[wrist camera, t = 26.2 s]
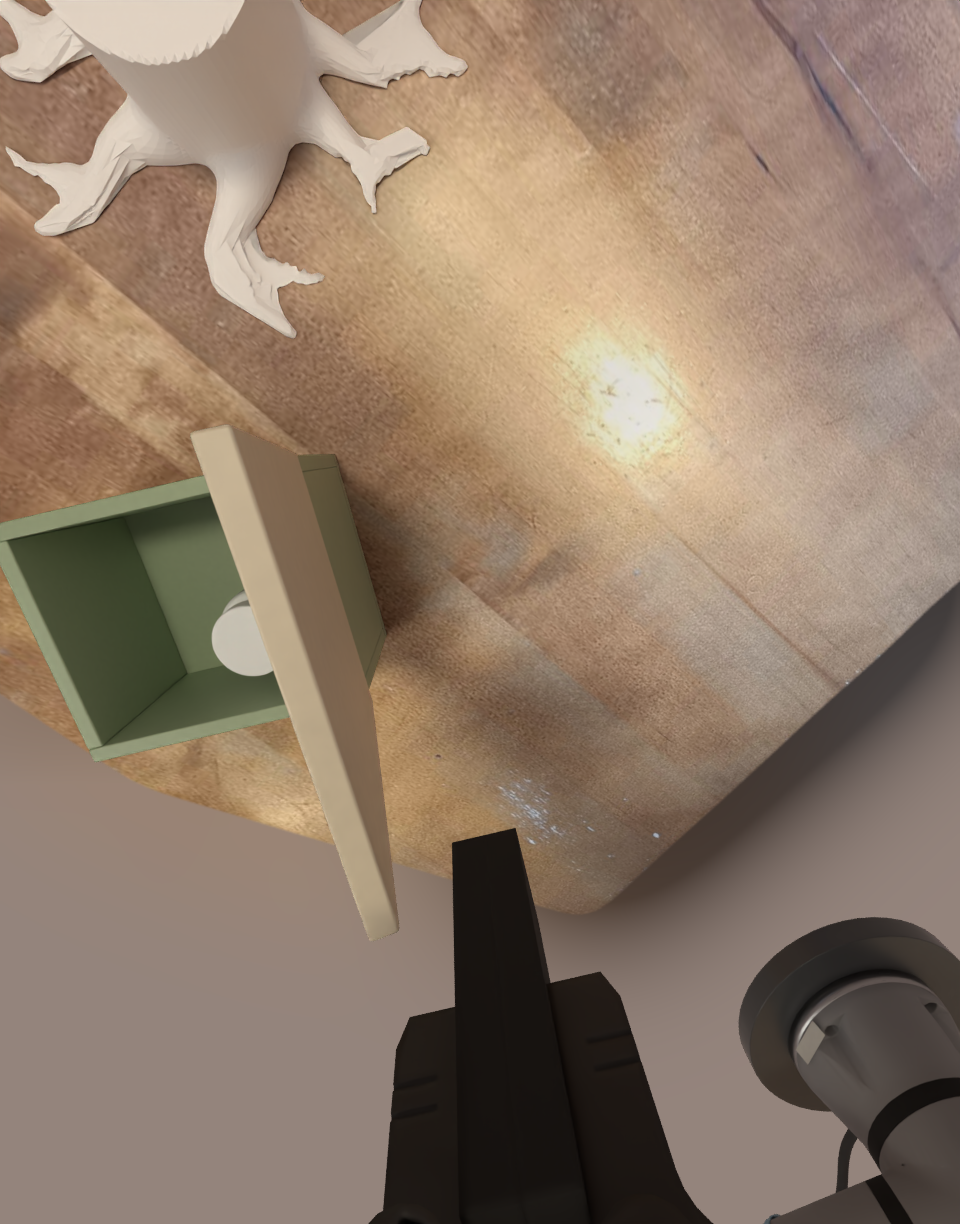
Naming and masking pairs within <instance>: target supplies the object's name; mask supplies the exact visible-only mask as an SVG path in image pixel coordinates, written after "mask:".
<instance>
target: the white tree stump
mask: <svg viewBox="0 0 960 1224" xmlns="http://www.w3.org/2000/svg"><path fill="white" fill-rule="evenodd" d="M45 1H46V2H47V3H48V4H49V6H50V7H51V8H52V9H53V10H52V11H51V12H50V13H49V14H48V15H46V16H41V15H38V14H36V13H33V12H31V11H30V10H28V9H27V8H25V7H24V6H22V5H21V4H19V3H18V2H16V1H15V0H0V15H1V16H2V17H3V18H4V19H5V20H6V21H8V23H9V24H10V26H11V28H12V29H13V31H14V34H15V36H16V39H17V41H18V46H19V47H18V51H16V52H14V53H12V54H8V55H5V56H3V57H1V59H0V66H1V69H2V70H3V71H4V72H5V73H6V74H7V75H9V76H10V77H11V78H14V79H16V80H22V81H31V82H42V81H43V80H45V79H46V78H48V77H49V76H51V75H52V74H53V73H54V72H55V71H57V70H58V69H60V68H61V67H63V66H65V65H66V64H67V63H70V62H73V61H76V60H78V59H81V58H84V57H86V56H89V55H92V54H93V56H94V57H95V58H96V59H97V60H98V61H99V62H100V63H101V65H102V66H103V67H104V68H105V69H106V70H107V71H108V72H109V73H110V75H111V76H112V77H113V78H114V79H115V80H116V81H117V82H118V84H119V85H120V86H121V87H122V88H123V89H124V90H125V91H126V93H127V94H128V96H127V99H126V100H125V102H124V103H123V104H122V106H121V107H120V108H119V109H118V111H117V112H116V113H115V114H114V115H113V116H112V117H111V118H110V120H109V121H108V122H107V124H106V126H105V127H104V129H103V130H102V132H101V133H100V135H99V137H98V138H97V141H96V144H95V148H94V151H93V155H92V157H91V159H90V161H89V162H87V163H85V164H83V165H77V164H74V163H66V162H63V163H60V164H58V163H52V164H46V163H39V164H38V163H33V162H28V161H26V160H25V159H24V158H23V157H22V156H21V155H19V154H18V153H16V152H15V151H13V150H11V149H10V148H8V147H6V152H7V153H8V154H9V155H10V156H11V159H12V161H13V163H14V166H18V167H21V168H22V169H23V170H25V171H26V172H28V173H30V174H32V175H33V176H36V175H39V176H40V177H41V178H42V179H43V180H44V182H45V183H47V184H49V185H51V186H52V187H53V188H54V189H55V190H56V191H57V193H58V195H59V197H60V203H59V204H57V205H55V206H54V207H53V208H52V209H51V210H50V211H49V212H48V213H47V214H46V215H45V216H44V217H43V218H42V219H40V220H38V221H36V223H35V225H34V228H35V231H36V232H38V233H40V234H41V235H43V236H55V235H58V234H61V233H64V232H67V231H70V230H73V229H76V228H79V227H82V226H85V225H88V224H91V223H94V222H95V220H96V219H97V218H98V217H99V216H100V214H101V213H102V211H103V210H104V208H105V207H106V206H107V205H109V204H110V202H111V201H112V200H113V198H114V197H115V196H116V195H117V193H118V192H119V191H120V189H121V188H122V187H123V185H124V184H125V183H126V181H127V180H128V179H129V178H130V176H131V175H132V174H133V173H135V172H136V171H138V170H140V169H142V168H143V167H145V166H147V165H155V166H176V165H185V164H193V163H197V164H202V165H205V166H207V167H208V168H209V169H211V170H212V172H213V173H214V175H215V177H216V181H217V192H216V201H215V205H214V209H213V213H212V217H211V220H210V224H209V228H208V232H207V237H206V241H205V245H204V254H205V260H206V262H207V265H208V269H209V274H210V278H211V282H212V284H213V286H214V287H215V289H216V290H217V292H218V293H219V294H220V295H221V296H222V297H224V298H226V299H227V300H229V301H230V302H232V303H234V304H235V305H237V306H238V307H240V308H242V309H243V310H245V311H246V312H248V313H250V314H251V315H253V316H255V317H256V318H258V319H259V320H261V321H263V322H264V323H266V324H267V325H269V326H271V327H272V328H274V329H275V330H277V331H279V332H280V333H282V334H283V335H285V336H287V337H290V338H295V337H296V334H297V332H296V330H295V329H294V328H293V327H292V325H291V324H290V323H289V321H288V320H287V319H286V317H285V316H284V313H283V311H282V309H281V307H280V304H279V301H278V292H277V289H278V288H279V287H283V286H285V285H288V284H289V283H290V282H292V281H294V282H296V283H302V284H305V285H308V284H312V283H318V281H322V280H323V278H324V277H325V276H324V275H322V274H321V273H319V272H318V273H315V274H310V273H308V272H307V271H306V270H305V268H304V269H303V270H302V271H300V272H298V269H297V267H296V266H290V265H289V264H288V262H286V263H284V264H282V263H280V262H278V261H277V260H276V259H274V258H269V257H267V256H266V255H265V254H264V253H263V251H262V250H261V248H260V244H259V240H258V236H257V232H256V229H255V227H256V225H257V224H258V223H259V221H260V219H261V218H262V216H263V215H264V213H265V212H266V210H267V208H268V207H269V205H270V204H271V202H272V199H273V197H274V194H275V191H276V188H277V186H278V183H279V181H280V179H281V176H282V174H283V171H284V168H285V164H286V161H287V157H288V153H289V151H290V150H291V148H292V147H293V146H294V145H295V144H298V143H302V142H305V143H313V144H316V145H318V146H319V147H321V148H322V149H324V150H325V151H327V152H328V153H330V154H331V155H333V156H334V157H336V158H337V157H343V159H344V160H345V161H348V162H349V163H350V165H351V169H352V172H353V173H354V174H355V175H356V176H357V178H358V180H359V181H360V183H361V185H362V188H363V194H364V197H365V199H366V200H367V202H368V203H369V204H370V205H371V208H372V213H376V199H375V195H374V194H375V191H376V184H377V183H379V182H380V181H381V179H382V178H383V176H385V175H390V174H391V172H392V171H393V169H394V168H398V167H399V166H401V165H402V164H404V163H406V162H407V161H409V160H411V159H412V158H414V157H416V156H417V155H419V154H423V155H427V153H428V151H429V149H430V147H429V146H428V145H427V141H426V140H425V139H424V138H423V137H421V136H420V135H418V134H417V133H415V132H414V131H413V130H411V129H410V128H408V127H405V128H403V129H401V130H399V131H397V132H394V133H392V134H390V135H388V136H386V137H384V138H383V139H381V140H375V139H370V138H366V137H362V136H359V135H358V134H357V133H356V131H355V130H354V129H353V128H352V127H351V126H350V124H349V123H348V122H347V120H346V119H345V117H344V116H343V115H342V113H341V112H340V110H339V109H338V107H337V106H336V105H335V103H334V102H333V101H332V99H331V98H330V97H329V95H328V94H327V93H326V91H325V90H324V88H323V87H322V86H321V84H320V81H319V78H320V76H321V75H323V74H330V75H336V76H340V77H343V78H346V79H350V80H353V81H357V82H361V83H365V84H370V85H374V86H378V87H380V86H381V87H384V88H386V89H387V85H388V81H389V80H390V79H396V80H399V79H400V77H401V76H402V75H403V74H408V75H411V74H412V73H414V72H415V71H417V70H419V69H421V70H424V71H425V72H426V73H427V75H428V76H429V77H433V76H439V75H441V76H443V77H445V78H446V77H447V76H448V75H449V74H454V75H456V76H460V75H461V74H463V73H464V72H465V70H466V69H467V68H468V66H467V64H466V62H465V61H464V60H462V59H460V58H458V57H455V56H451V55H449V54H447V53H445V52H444V51H443V50H442V49H441V48H440V47H439V46H438V45H437V43H436V42H435V41H434V39H433V38H432V36H431V34H430V33H429V32H428V31H427V30H426V29H425V28H424V27H423V25H422V23H421V19H420V16H419V7H420V5H421V2H422V0H401V1H399V2H397V3H396V4H394V5H392V6H391V7H389V8H387V9H385V10H384V11H382V12H380V13H379V14H377V15H375V16H374V17H372V18H370V19H369V20H367V21H365V22H363V23H362V24H360V25H358V26H357V27H355V28H353V29H352V30H350V31H348V32H346V33H345V34H343V35H340V34H339V33H338V32H337V31H335V30H334V29H333V28H331V27H330V26H328V25H327V24H325V23H324V22H323V21H321V20H319V19H318V18H316V17H315V16H313V15H312V14H310V13H309V12H308V11H307V10H306V9H305V8H304V6H303V5H302V3H301V1H300V0H45Z"/></svg>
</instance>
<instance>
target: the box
mask: <svg viewBox="0 0 960 1224" xmlns="http://www.w3.org/2000/svg"><path fill="white" fill-rule="evenodd" d="M297 456H298V459H299V463H300V466H301V469H302V473H303V476H304V479H305V482H306V486H307V489H308V492H309V495H310V499H311V502H312V505H313V508H314V512H315V515H316V518H317V521H318V525H319V528H320V531H321V535H322V538H323V541H324V544H325V548H326V551H327V554H328V557H329V561H330V564H331V567H332V570H333V574H334V577H335V580H336V584H337V587H338V590H339V593H340V597H341V600H342V603H343V606H344V610H345V613H346V616H347V619H348V623H349V626H350V629H351V632H352V636H353V639H354V642H355V646H356V649H357V652H358V655H359V659H360V662H361V665H362V668H363V672H364V675H365V678H366V681H367V685H368V688H370V685H371V682H372V679H373V676H374V672H375V669H376V666H377V663H378V660H379V657H380V654H381V651H382V648H383V645H384V641H385V638H386V635H387V634H386V630H385V627H384V623H383V620H382V616H381V613H380V609H379V606H378V602H377V599H376V595H375V592H374V588H373V585H372V581H371V578H370V575H369V571H368V568H367V564H366V561H365V557H364V554H363V550H362V547H361V543H360V540H359V536H358V533H357V529H356V526H355V522H354V519H353V515H352V512H351V508H350V505H349V501H348V498H347V495H346V491H345V488H344V484H343V481H342V477H341V474H340V470H339V467H338V463H337V460H336V456H335V454H317V455H297ZM0 566H1V568H2V570H3V572H4V574H5V576H6V578H7V580H8V582H9V585H10V587H11V589H12V591H13V593H14V595H15V597H16V599H17V601H18V603H19V605H20V607H21V610H22V612H23V614H24V616H25V618H26V620H27V622H28V624H29V626H30V628H31V630H32V633H33V635H34V637H35V639H36V641H37V643H38V645H39V647H40V649H41V651H42V653H43V656H44V658H45V660H46V662H47V664H48V666H49V668H50V670H51V672H52V674H53V676H54V679H55V681H56V683H57V685H58V687H59V689H60V691H61V693H62V695H63V697H64V699H65V701H66V704H67V706H68V708H69V710H70V712H71V714H72V716H73V718H74V720H75V722H76V724H77V727H78V729H79V731H80V733H81V735H82V737H83V739H84V741H85V743H86V745H87V747H88V749H90V750H89V751H90V754H91V756H92V758H93V760H94V762H99V761H103V760H107V759H112V758H116V757H120V756H125V755H129V754H133V753H138V752H142V751H146V750H151V749H155V748H159V747H164V746H168V745H172V744H176V743H181V742H185V741H189V740H194V739H198V738H202V737H207V736H211V735H215V734H220V733H224V732H228V731H232V730H237V729H241V728H245V727H250V726H254V725H258V724H263V723H267V722H271V721H276V720H280V719H284V718H289V717H290V716H289V713H288V711H287V708H286V705H285V702H284V699H283V697H282V694H281V691H280V688H279V685H278V683H277V680H276V677H275V674H274V671H272V672H270V673H268V674H265V675H261V676H246V675H241V674H238V673H236V672H233V671H231V670H230V669H228V668H227V667H226V666H225V665H224V664H223V663H222V662H221V661H220V660H219V659H218V657H217V656H216V654H215V652H214V649H213V646H212V631H213V628H214V625H215V623H216V621H217V620H218V619H219V617H220V616H221V615H222V614H223V611H224V609H225V607H226V605H227V604H228V603H229V601H230V600H231V599H232V598H233V597H234V596H236V595H237V594H238V593H239V592H241V591H242V590H244V587H243V584H242V581H241V579H240V576H239V573H238V570H237V567H236V565H235V562H234V559H233V556H232V553H231V551H230V548H229V545H228V542H227V539H226V536H225V534H224V531H223V528H222V525H221V522H220V520H219V517H218V514H217V511H216V508H215V506H214V503H213V500H212V497H211V494H210V492H209V489H208V486H207V483H206V480H205V477H204V475H203V476H199V477H194V478H190V479H186V480H181V481H177V482H173V483H169V484H164V485H160V486H156V487H152V488H147V489H143V490H139V491H135V492H130V493H126V494H122V495H118V496H113V497H109V498H105V499H100V500H96V501H92V502H88V503H83V504H79V505H75V506H71V507H66V508H62V509H58V510H54V511H49V512H45V513H41V514H37V515H32V516H28V517H24V518H19V519H15V520H11V521H7V522H2V523H0Z"/></svg>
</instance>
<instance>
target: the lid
mask: <svg viewBox="0 0 960 1224" xmlns="http://www.w3.org/2000/svg"><path fill="white" fill-rule="evenodd" d="M190 438H191V441H192V444H193V447H194V449H195V452H196V455H197V458H198V461H199V463H200V466H201V469H202V472H203V475H204V477H205V480H206V483H207V486H208V489H209V492H210V494H211V497H212V500H213V503H214V506H215V508H216V511H217V514H218V517H219V520H220V522H221V525H222V528H223V531H224V534H225V536H226V539H227V542H228V545H229V548H230V551H231V553H232V556H233V559H234V562H235V565H236V567H237V570H238V573H239V576H240V579H241V581H242V584H243V587H244V590H245V593H246V595H247V598H248V601H249V604H250V607H251V610H252V612H253V615H254V618H255V621H256V624H257V626H258V629H259V632H260V635H261V638H262V640H263V643H264V646H265V649H266V652H267V654H268V657H269V660H270V663H271V666H272V669H273V671H274V674H275V677H276V680H277V683H278V685H279V688H280V691H281V694H282V697H283V699H284V702H285V705H286V708H287V711H288V713H289V716H290V719H291V722H292V725H293V728H294V730H295V733H296V736H297V739H298V742H299V744H300V747H301V750H302V753H303V756H304V758H305V761H306V764H307V767H308V770H309V772H310V775H311V778H312V781H313V784H314V787H315V789H316V792H317V795H318V798H319V801H320V803H321V806H322V809H323V812H324V815H325V817H326V820H327V823H328V826H329V829H330V831H331V834H332V837H333V840H334V843H335V846H336V848H337V851H338V854H339V857H340V859H341V862H342V865H343V868H344V871H345V873H346V876H347V879H348V882H349V885H350V887H351V890H352V893H353V896H354V899H355V902H356V905H357V907H358V910H359V913H360V916H361V919H362V921H363V924H364V927H365V930H366V933H367V935H368V938H369V940H370V941H375V940H378V939H381V938H383V937H386V936H388V935H391V934H394V933H397V932H398V931H399V920H398V912H397V903H396V895H395V887H394V878H393V870H392V861H391V853H390V844H389V836H388V828H387V819H386V811H385V802H384V794H383V786H382V777H381V769H380V760H379V752H378V744H377V735H376V727H375V718H374V710H373V702H372V698H371V695H370V691H369V688H368V685H367V681H366V678H365V675H364V672H363V668H362V665H361V662H360V659H359V655H358V652H357V649H356V646H355V642H354V639H353V636H352V632H351V629H350V626H349V623H348V619H347V616H346V613H345V610H344V606H343V603H342V600H341V597H340V593H339V590H338V587H337V584H336V580H335V577H334V574H333V570H332V567H331V564H330V561H329V557H328V554H327V551H326V548H325V544H324V541H323V538H322V535H321V531H320V528H319V525H318V521H317V518H316V515H315V512H314V508H313V505H312V502H311V499H310V495H309V492H308V489H307V486H306V482H305V479H304V476H303V473H302V469H301V466H300V463H299V459H298V456H297V454H296V453H294V452H291V451H289V450H287V449H284V448H282V447H280V446H277V445H275V444H273V443H271V442H268V441H266V440H264V439H261V438H259V437H257V436H254V435H252V434H250V433H247V432H245V431H243V430H241V429H238V428H236V427H234V426H231V425H227V424H226V425H221V426H216V427H212V428H207V429H202V430H198V431H193V432H192V433H191V434H190Z"/></svg>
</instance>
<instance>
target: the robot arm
mask: <svg viewBox="0 0 960 1224" xmlns="http://www.w3.org/2000/svg"><path fill="white" fill-rule="evenodd" d="M452 865H453V915H454V916H453V918H454V970H455V1007H452V1008H448V1009H444V1010H439V1011H435V1012H430V1013H426V1014H422V1015H418V1016H413V1017H410V1018H409V1020H408V1023H407V1025H406V1028H405V1030H404V1032H403V1035H402V1037H401V1040H400V1042H399V1044H398V1046H397V1049H396V1059H395V1070H394V1083H393V1085H394V1091H393V1095H392V1108H391V1117H392V1120H391V1122H390V1132H389V1145H388V1157H387V1169H386V1183H385V1194H384V1206H383V1211H382V1212H380V1213H378V1214H377V1215H376V1216H375V1217H374V1218H373V1219H372V1221H371V1222H370V1223H369V1224H713V1223H712V1222H711V1221H710V1220H709V1219H707V1217H706V1216H705V1215H704V1214H703V1213H702V1212H701V1211H700V1210H699V1209H698V1208H697V1207H696V1206H695V1205H694V1203H693V1201H692V1200H691V1198H690V1197H689V1195H688V1194H687V1192H686V1191H685V1189H684V1187H683V1185H682V1182H681V1181H680V1178H679V1176H678V1173H677V1171H676V1168H675V1165H674V1162H673V1159H672V1156H671V1153H670V1149H669V1147H668V1143H667V1140H666V1137H665V1134H664V1131H663V1128H662V1125H661V1121H660V1119H659V1115H658V1112H657V1109H656V1106H655V1103H654V1100H653V1097H652V1093H651V1090H650V1087H649V1084H648V1081H647V1078H646V1075H645V1072H644V1069H643V1066H642V1062H641V1060H640V1057H639V1053H638V1050H637V1047H636V1044H635V1040H634V1037H633V1034H632V1032H631V1028H630V1025H629V1022H628V1019H627V1016H626V1013H625V1010H624V1006H623V1003H622V1000H621V997H620V995H619V994H618V993H617V992H616V990H615V989H614V988H613V987H612V985H611V984H610V983H609V982H608V980H607V979H606V978H605V977H604V976H603V975H602V973H601V972H597V973H592V974H588V975H583V976H579V977H575V978H570V979H566V980H562V981H557V982H554V983H550V978H549V973H548V968H547V963H546V958H545V953H544V948H543V943H542V938H541V933H540V928H539V923H538V918H537V914H536V910H535V906H534V902H533V898H532V893H531V889H530V885H529V881H528V877H527V873H526V869H525V865H524V861H523V857H522V852H521V848H520V844H519V840H518V836H517V832H516V828H513V829H509V830H505V831H500V832H496V833H492V834H488V835H483V836H479V837H475V838H470V839H466V840H462V841H457V842H453V843H452ZM788 1047H789V1053H790V1056H791V1058H792V1060H793V1062H794V1064H795V1066H796V1068H797V1069H798V1071H799V1073H800V1075H801V1076H802V1078H803V1079H804V1081H805V1082H806V1083H807V1085H808V1086H809V1087H810V1089H811V1090H812V1091H813V1092H814V1093H815V1094H816V1095H817V1096H818V1097H819V1098H820V1099H821V1100H822V1102H823V1103H824V1104H825V1105H826V1106H827V1107H828V1108H829V1109H830V1110H831V1111H832V1112H833V1113H834V1114H835V1115H836V1116H837V1117H838V1118H839V1119H840V1120H841V1121H842V1122H843V1123H844V1124H845V1125H846V1126H847V1128H848V1130H847V1132H846V1134H845V1136H844V1138H843V1140H842V1143H841V1146H840V1151H839V1157H838V1175H837V1188H836V1193H835V1194H833V1195H830V1196H828V1197H825V1198H823V1199H820V1200H818V1201H815V1202H813V1203H811V1204H808V1205H806V1206H804V1207H801V1208H799V1209H797V1210H794V1211H792V1212H789V1213H787V1214H784V1215H782V1216H780V1215H778V1214H774V1215H771V1216H770V1217H769V1218H768V1219H766V1221H765V1223H764V1224H960V1032H959V1030H958V1028H957V1026H956V1024H955V1022H954V1020H953V1018H952V1016H951V1014H950V1013H949V1011H948V1010H947V1008H946V1007H945V1006H944V1004H943V1003H942V1001H941V1000H940V999H939V998H938V996H937V995H936V994H935V993H934V992H933V991H932V990H931V989H930V988H929V987H928V986H927V984H926V983H924V982H923V981H922V980H920V979H919V978H917V977H915V976H913V975H911V974H909V973H906V972H902V971H898V970H889V969H876V970H868V971H863V972H858V973H855V974H851V975H848V976H846V977H843V978H841V979H839V980H837V981H835V982H833V983H831V984H829V985H827V986H826V987H824V988H823V989H821V990H820V991H819V992H817V993H816V994H815V995H814V996H813V997H812V998H810V999H809V1000H808V1001H807V1003H806V1004H805V1005H804V1006H803V1007H802V1008H801V1010H800V1011H799V1012H798V1014H797V1016H796V1017H795V1019H794V1021H793V1023H792V1026H791V1029H790V1033H789V1039H788ZM857 1138H858V1139H859V1140H860V1141H861V1142H862V1143H863V1144H864V1145H865V1147H866V1148H867V1150H868V1151H869V1153H870V1155H871V1156H872V1158H873V1159H874V1161H875V1163H876V1164H877V1166H878V1168H879V1169H880V1171H881V1173H882V1174H881V1175H879V1176H876V1177H874V1178H872V1179H869V1180H866V1181H864V1182H862V1183H859V1184H857V1185H854V1186H852V1187H849V1188H847V1187H848V1168H849V1160H850V1155H851V1151H852V1148H853V1145H854V1143H855V1142H856V1140H857Z"/></svg>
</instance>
